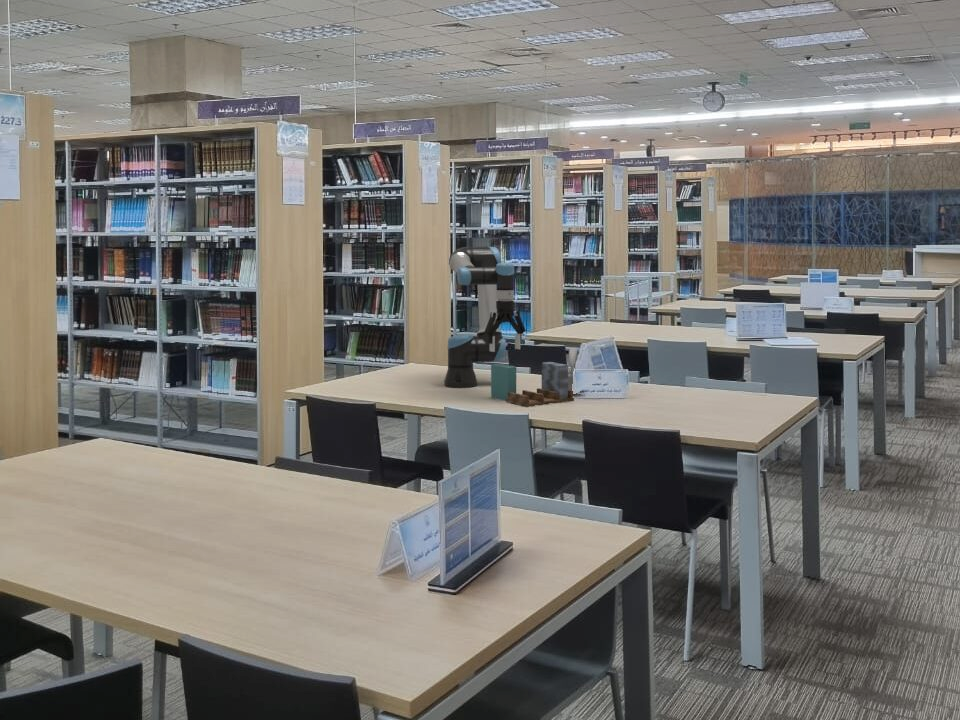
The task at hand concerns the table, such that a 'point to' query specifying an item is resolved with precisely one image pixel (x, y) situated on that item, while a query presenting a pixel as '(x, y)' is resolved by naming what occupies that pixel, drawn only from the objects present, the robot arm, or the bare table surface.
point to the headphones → (572, 360)
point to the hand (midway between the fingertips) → (505, 350)
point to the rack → (546, 388)
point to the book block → (502, 380)
